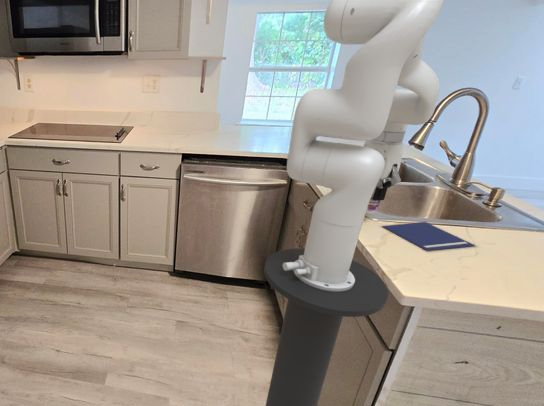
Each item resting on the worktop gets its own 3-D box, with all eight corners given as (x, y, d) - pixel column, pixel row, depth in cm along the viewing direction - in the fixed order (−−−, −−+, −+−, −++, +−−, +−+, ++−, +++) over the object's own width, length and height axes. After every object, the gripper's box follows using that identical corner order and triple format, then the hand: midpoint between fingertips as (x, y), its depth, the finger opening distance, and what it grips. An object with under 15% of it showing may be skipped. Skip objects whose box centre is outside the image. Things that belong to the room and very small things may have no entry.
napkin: (427, 251, 94) (427, 249, 94) (382, 226, 107) (382, 225, 107) (474, 246, 96) (475, 244, 96) (424, 222, 109) (425, 221, 108)
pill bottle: (363, 214, 108) (372, 184, 104) (351, 207, 112) (359, 177, 109) (381, 213, 108) (390, 183, 104) (368, 206, 113) (376, 176, 109)
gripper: (351, 130, 108) (337, 187, 116) (401, 144, 93) (382, 208, 100) (374, 128, 109) (359, 185, 116) (427, 142, 94) (406, 206, 101)
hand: (369, 195), depth 108 cm, fingers closed on pill bottle, 5 cm apart
